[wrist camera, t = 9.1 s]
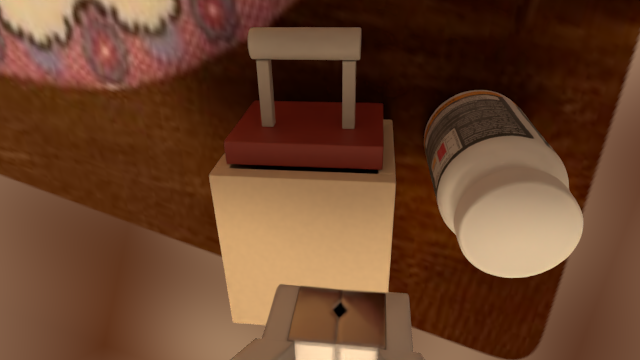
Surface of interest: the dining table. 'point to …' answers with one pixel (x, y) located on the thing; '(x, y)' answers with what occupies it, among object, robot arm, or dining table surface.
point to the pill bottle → (500, 186)
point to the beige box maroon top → (302, 230)
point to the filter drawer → (307, 109)
